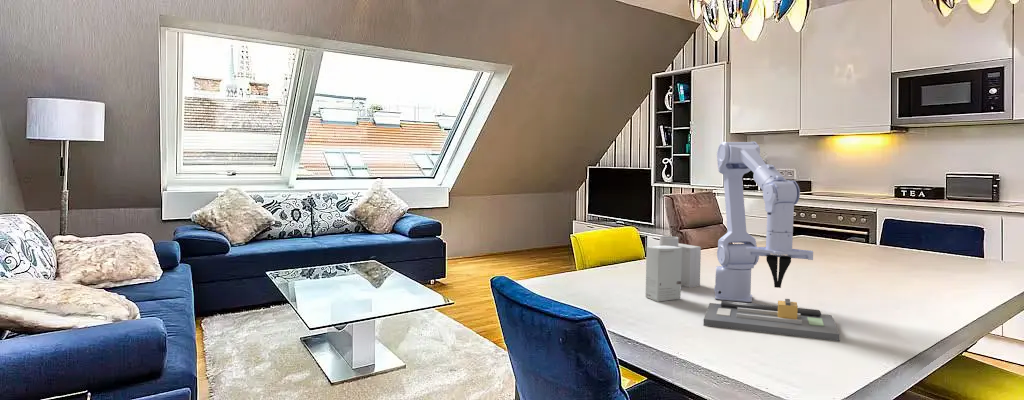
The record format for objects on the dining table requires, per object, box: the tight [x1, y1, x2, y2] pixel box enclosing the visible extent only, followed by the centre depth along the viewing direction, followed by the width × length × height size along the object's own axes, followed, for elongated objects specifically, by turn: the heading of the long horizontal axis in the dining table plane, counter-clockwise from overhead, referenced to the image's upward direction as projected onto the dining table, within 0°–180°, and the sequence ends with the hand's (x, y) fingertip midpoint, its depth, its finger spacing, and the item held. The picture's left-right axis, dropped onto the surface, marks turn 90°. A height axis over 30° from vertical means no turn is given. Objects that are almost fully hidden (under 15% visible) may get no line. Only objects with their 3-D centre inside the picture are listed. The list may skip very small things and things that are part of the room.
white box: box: [659, 235, 702, 288], centre depth 174 cm, size 12×14×15 cm
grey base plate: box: [703, 300, 841, 342], centre depth 134 cm, size 28×16×3 cm, turn 66°
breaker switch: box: [777, 298, 799, 319], centre depth 132 cm, size 4×4×4 cm
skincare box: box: [644, 245, 682, 302], centre depth 157 cm, size 8×6×15 cm
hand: (777, 286), depth 135 cm, fingers closed
